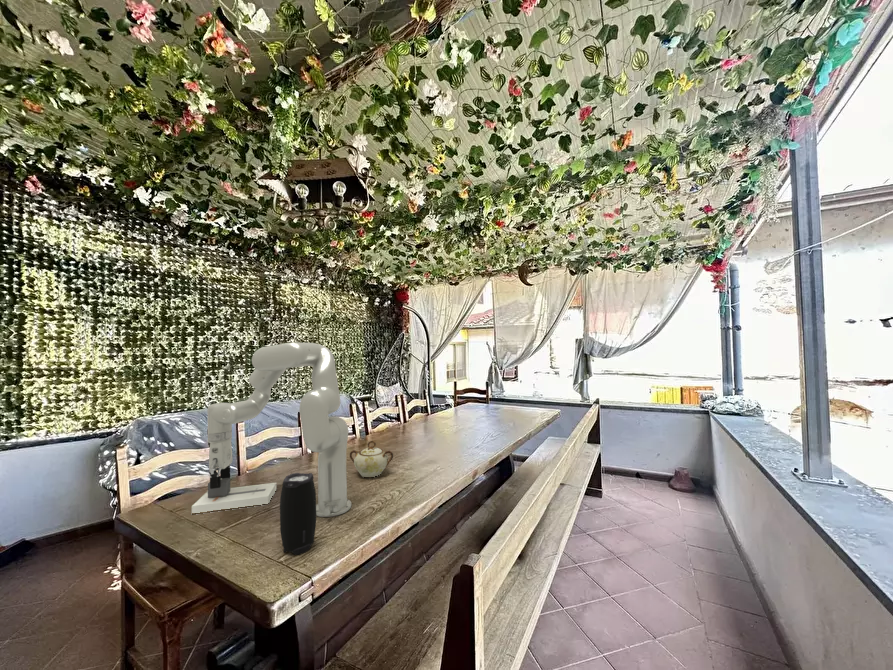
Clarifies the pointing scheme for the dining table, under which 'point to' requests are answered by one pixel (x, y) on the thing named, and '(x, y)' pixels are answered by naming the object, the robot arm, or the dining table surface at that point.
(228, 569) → the dining table surface
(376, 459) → the sugar bowl
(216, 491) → the fader tab
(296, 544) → the portable speaker
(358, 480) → the dining table surface
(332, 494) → the robot arm
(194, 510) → the board
